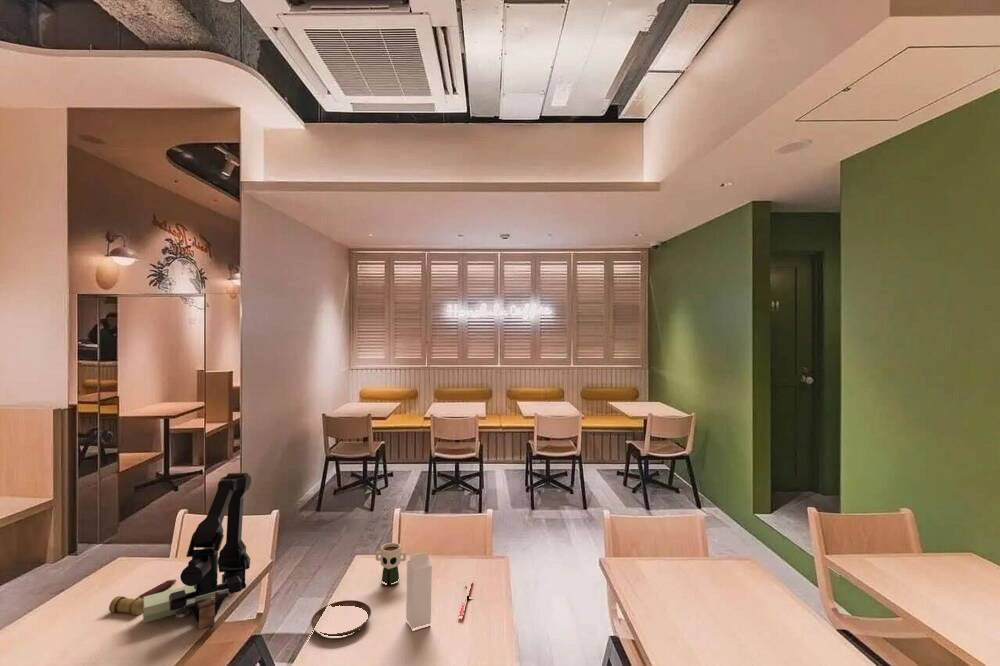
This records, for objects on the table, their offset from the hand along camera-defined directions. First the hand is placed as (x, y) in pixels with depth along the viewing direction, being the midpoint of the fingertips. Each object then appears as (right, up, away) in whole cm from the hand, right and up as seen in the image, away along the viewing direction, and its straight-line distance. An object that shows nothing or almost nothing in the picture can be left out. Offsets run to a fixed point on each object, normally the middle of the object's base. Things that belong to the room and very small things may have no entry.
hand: (205, 620), depth 147 cm
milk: (+65, -3, +2) cm, 65 cm away
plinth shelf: (-11, -1, +5) cm, 12 cm away
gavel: (-27, -2, +14) cm, 31 cm away
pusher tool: (-3, -1, +4) cm, 5 cm away
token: (-10, -1, +4) cm, 11 cm away
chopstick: (+79, -4, +16) cm, 80 cm away
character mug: (+50, -3, +27) cm, 57 cm away
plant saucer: (+41, -3, +1) cm, 41 cm away
